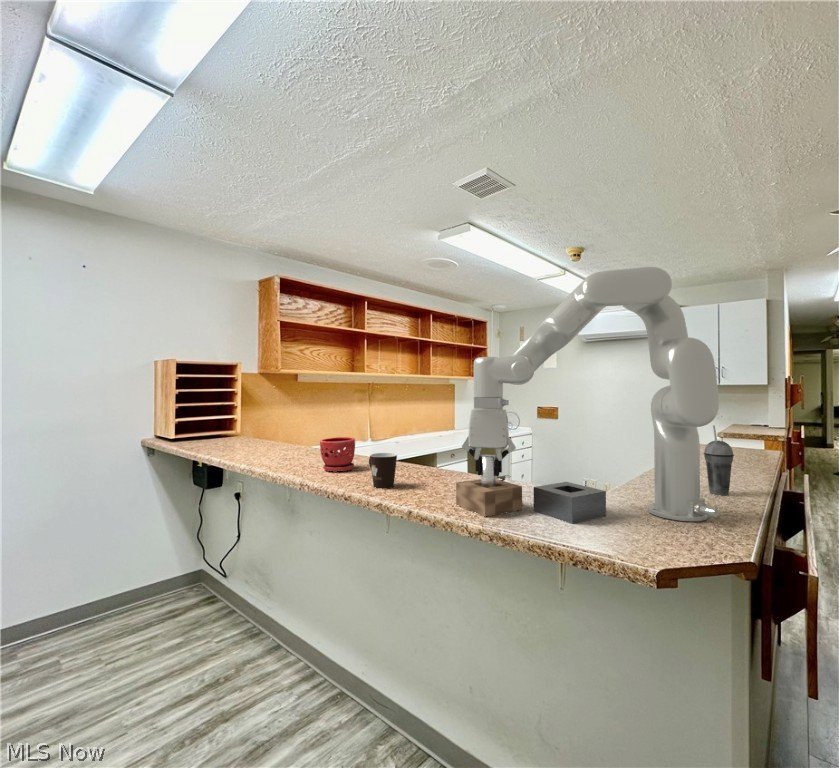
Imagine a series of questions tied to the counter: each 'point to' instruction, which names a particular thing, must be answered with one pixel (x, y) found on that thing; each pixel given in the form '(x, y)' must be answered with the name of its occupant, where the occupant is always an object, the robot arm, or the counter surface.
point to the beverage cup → (718, 466)
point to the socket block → (570, 502)
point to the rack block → (489, 497)
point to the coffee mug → (383, 469)
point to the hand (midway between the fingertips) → (488, 474)
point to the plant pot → (337, 453)
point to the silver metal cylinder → (488, 471)
